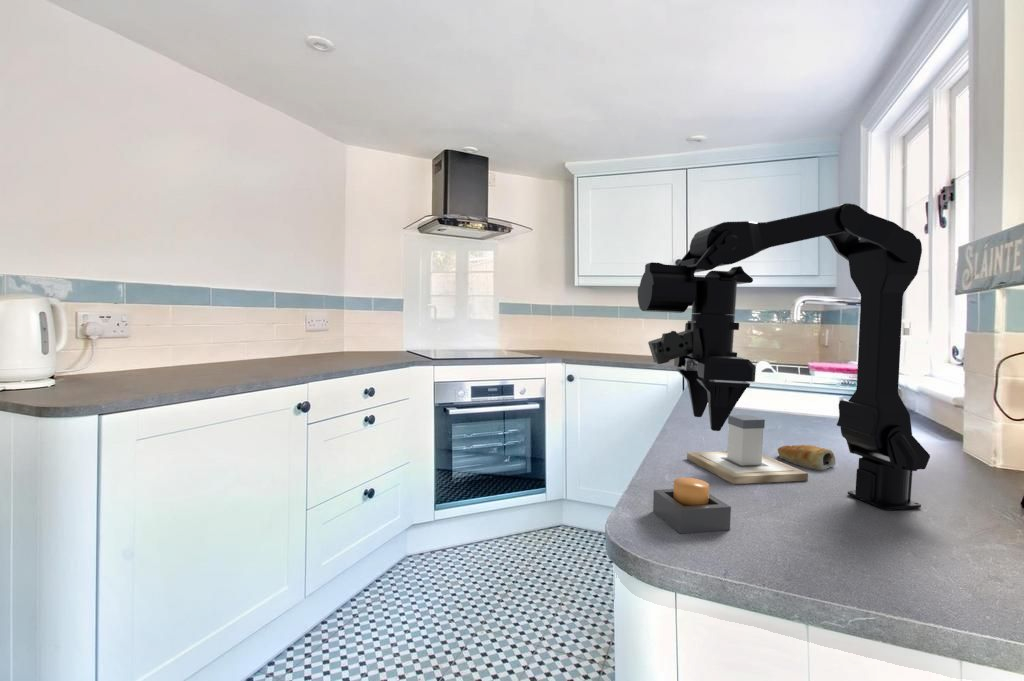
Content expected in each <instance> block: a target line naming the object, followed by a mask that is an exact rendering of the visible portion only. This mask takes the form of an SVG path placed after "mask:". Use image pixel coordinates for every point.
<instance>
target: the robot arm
mask: <svg viewBox="0 0 1024 681" xmlns="http://www.w3.org/2000/svg"><path fill="white" fill-rule="evenodd" d="M916 236H917V235H915V234H914V233H913V232H912V231H909V230H906V229H904V228H903V227H901V226H900V225H898V224H897V223H895V222H893V221H890V220H889V219H886V218H882V217H881V216H877V215H875V214H873V213H869V212H867V211H866V210H864V208H862V207H861V206H859V205H857V204H856V203H850V202H849V203H843V204H839V205H836V206H832V207H828V208H826V209H822V210H818V211H817V210H816V211H813V212H807V213H804V214H798V215H792V216H790V217H784V218H780V219H775V220H770V221H766V222H765V221H764V222H756V221H748V220H745V221H743V220H742V221H724V222H721V223H718V224H714V225H712V226H710V227H707V228H704V229H702V230H699V231H697V232H696V233H695V234H694V235H693V237H692V238H691V241H690V245H689V249H688V251H687V252H686V253H685V254H684V255H683V257H682V258H681V259H680V261H679V262H678V263H677V264H664V263H661V262H648V263H645V266H644V273H643V274H642V277H641V279H640V282H639V286H638V288H637V304H638V307H639V309H640V310H641V311H642V312H653V313H675V314H682V313H685V312H686V311H687V310H688V307H690V306H691V319H690V320H687V322H685V324H684V325H685V326H684V327H685V328H684V330H683V331H679V332H677V331H675V330H670V331H669V332H665V333H662V334H661V337H659V338H656V339H652V340H650V341H647V343H648V346H649V350H650V353H651V356H652V359H653V360H652V361H653V362H654V363H656V364H657V365H663V364H666V363H669V362H670V361H671V360H674V361H673V362H674V363H673V366H675V367H677V368H676V371H677V372H678V373H679V374H680V376H682V377H683V378H684V379H685V381H686V383H687V384H686V385H687V388H688V389H687V390H688V393H689V398H690V402H691V408H692V414H693V416H694V417H695V418H702V417H703V414H704V413H705V411H706V408H707V406H708V416H709V425H710V426H709V427H710V429H711V430H712V431H715V432H720V431H721V429H722V428H723V426H724V425H725V423H726V421H728V416H729V415H731V413H732V411H733V409H734V408H735V407H736V405H737V403H738V402H739V400H740V399H741V397H742V396H743V394H744V393H745V391H746V389H748V388H750V386H751V383H754V382H756V371H757V368H756V367H757V366H755V365H754V364H753V363H752V361H751V360H750V359H748V358H744V357H742V356H741V357H740V356H738V352H735V351H733V349H734V346H733V345H734V337H735V336H734V335H735V334H734V333H735V331H739V330H740V322H735V320H736V317H735V316H736V304H737V290H738V289H737V286H738V285H742V284H751V283H753V281H754V279H753V277H752V276H751V275H750V274H748V273H747V272H746V271H745V270H744V268H743V267H742V266H740V265H739V266H733V267H731V268H730V269H729V270H714V269H715V268H717V267H723V266H728V265H733V264H735V263H738V262H741V261H743V260H745V259H748V258H750V257H752V256H755V255H757V254H759V253H760V252H762V251H765V250H767V249H769V248H774V247H777V246H779V247H780V246H782V245H783V246H784V245H787V244H791V243H796V242H797V243H798V242H800V241H806V240H810V239H814V238H815V239H816V238H819V237H824V238H827V239H828V241H829V242H830V243H831V246H832V247H833V249H834V252H836V253H837V254H838V255H840V256H841V257H843V258H844V259H845V260H847V261H848V267H849V275H850V279H851V280H852V282H853V284H854V286H855V287H856V289H857V290H858V292H859V294H860V311H859V330H858V352H857V373H856V374H857V376H856V388H855V391H854V393H853V394H852V395H851V396H850V398H849V400H843V399H840V400H839V403H838V411H839V415H838V416H839V417H838V421H837V422H836V426H837V427H840V432H841V436H842V437H843V438H844V439H845V440H846V444H847V447H848V451H849V453H850V454H854V455H858V456H860V457H859V458H858V468H856V474H855V475H856V476H855V477H856V478H855V490H848V491H847V495H849V496H851V497H853V498H856V499H858V500H861V501H863V502H865V503H868V504H870V505H873V506H875V507H877V508H880V509H881V510H885V511H889V510H905V509H906V510H907V509H920V508H922V504H921V503H919V502H918V501H914V500H911V497H912V487H913V486H912V484H913V483H912V482H913V472H917V470H926V469H927V465H928V463H929V461H930V458H931V454H930V453H929V452H928V451H927V450H926V449H925V448H924V446H922V445H921V443H920V442H919V441H918V440H917V439H916V438H915V437H914V436H913V431H912V430H913V429H912V422H911V420H912V419H911V413H910V412H909V410H908V408H907V406H906V405H905V403H904V402H903V400H902V398H901V396H900V394H899V380H900V379H899V378H900V362H901V360H900V359H901V341H902V321H903V318H902V317H903V303H904V302H903V301H904V294H905V292H906V291H907V289H908V288H909V286H910V285H911V284H912V283H913V281H914V279H915V278H916V276H917V275H918V272H919V267H920V264H921V260H922V259H921V257H922V254H923V248H922V247H923V246H922V242H921V239H920V238H918V237H916ZM706 271H709V272H708V273H706V275H705V276H695V273H701V272H706Z"/></svg>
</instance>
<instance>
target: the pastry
mask: <svg viewBox="0 0 1024 681" xmlns="http://www.w3.org/2000/svg"><path fill="white" fill-rule="evenodd" d="M777 452H778V455H779V458H780V459H782V460H784V459H785V461H787V462H789V463H790V464H793V465H797V466H800V467H803V468H806V469H811V470H813V471H814V470H815V471H824V470H827V469H828V468H831V467H834V466H835V465H836V456H835V454H834V452H833V450H831V449H829V448H824V447H823V448H822V447H819V446H816V445H811V444H807V445H806V444H798V445H783V446H780V447H778V448H777Z"/></svg>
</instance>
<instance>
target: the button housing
mask: <svg viewBox="0 0 1024 681" xmlns="http://www.w3.org/2000/svg"><path fill="white" fill-rule="evenodd" d="M673 492H674V488H666V489H665V488H664V489H653V502H652V505H653V506H652V512H654V514H656V515H657V516H658V517H659V518H660V519H662V521H664V522H666V523H667V524H668V526H670V527H671V528H672V529H674V530H675V531H676V532H677V533H678V534H690V533H692V534H693V533H703V532H704V533H705V532H706V533H707V532H719V531H720V532H721V531H730V530H731V515H732V514H731V512H732V506H730V505H728V504H727V503H726V502H724V501H722V500H720V498H717V497H716V496H714V495H712V494H711V493H709V503H708V505H698V506H684V505H681V504H680V503H678V502H677V501H676V500H674V499H673Z"/></svg>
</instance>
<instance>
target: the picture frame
mask: <svg viewBox="0 0 1024 681" xmlns="http://www.w3.org/2000/svg"><path fill="white" fill-rule="evenodd" d="M727 452H728V450H727V451H702V452H701V451H699V452H686V459H687V460H688V461H690V462H691V463H694V464H695V465H697V466H699V467H701V468H703V469H704V470H707V471H709V472H710V473H712V474H714V475H716V476H718V477H720V478H721V479H723V480H725V481H727V482H729V483H730V484H732V485H743V484H759V483H761V484H762V483H763V484H765V483H780V482H785V483H786V482H799V481H800V482H801V481H802V482H803V481H804V482H805V481H808V480H809V473H808V472H806V471H803V470H801V469H799V468H796V467H793V466H791V465H789V464H787V463H784V462H781V461H779V460H776V459H775V458H773V457H769V456H767V455H764V454H762V465H739V464H737V463H735V462H733V461H731V460H729V459H727Z"/></svg>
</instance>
